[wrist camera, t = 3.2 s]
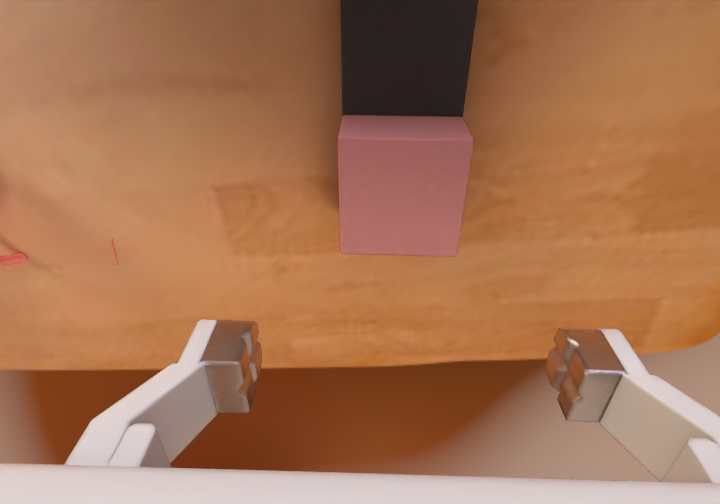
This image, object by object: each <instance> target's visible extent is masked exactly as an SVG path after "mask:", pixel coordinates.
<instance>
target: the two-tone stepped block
mask: <svg viewBox="0 0 720 504" xmlns="http://www.w3.org/2000/svg"><path fill="white" fill-rule="evenodd" d="M477 4H478V0H341V55H342V115H343V117H342V121H341V125H340V130H339V134H338V178H339V221H340V253H341V254H361V255H405V256H448V257H456V256H457V252H458V246H459V239H460V233H461V226H462V219H463V213H464V206H465V199H466V193H467V186H468V180H469V173H470V166H471V160H472V153H473V146H474V139H473V137H472V135H471V133H470V131H469V129H468V127H467V125H466V123H465V121H464V119H463V110H464V103H465V95H466V87H467V80H468V72H469V65H470V57H471V50H472V42H473V34H474V27H475V19H476V12H477Z"/></svg>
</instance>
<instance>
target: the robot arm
mask: <svg viewBox="0 0 720 504" xmlns="http://www.w3.org/2000/svg"><path fill="white" fill-rule="evenodd" d="M258 333H259V330H258V325H257V323H256V322H254V321H232V320H203V319H201V320H200V321H199V322H198V323H197V324H196V327H195V329H194V331H193V333H192V335H191V337H190V339H189V341H188V343H187V345H186V347H185V349H184V351H183V353H182V355H181V357H180V360H179V362H178V364H171V365H169V366H168V367H167V368H165V369H164V370H162V371H161V372H159V373H158V374H157V375H155V376H154V377H152V378H151V379H150V380H148V381H147V382H145V383H144V384H142V385H141V386H140V387H138V388H137V389H135V390H134V391H132V392H131V393H130V394H128V395H127V396H125V397H124V398H122V399H121V400H120V401H118V402H117V403H116V404H114V405H113V406H111V407H110V408H108V409H107V410H105V411H104V412H103V413H101V414H100V415H98V416H97V417H95V418H94V419H93V420H92V421H91V422H90V423H89V425H88V427H87V428H86V430H85V432H84V433H83V435H82V437H81V438H80V440H79V441H78V443H77V445H76V446H75V448H74V449H73V451H72V453H71V455H70V456H69V458H68V459H67V461H66V463H65V464H64V465H51V464H49V465H48V464H14V463H13V464H12V463H0V504H720V416H718V415H717V414H715V413H714V412H712V411H711V410H709V409H707V408H706V407H704V406H703V405H701V404H700V403H698V402H697V401H695V400H693V399H692V398H690V397H689V396H687V395H686V394H684V393H683V392H681V391H679V390H678V389H676V388H675V387H673V386H672V385H670V384H668V383H667V382H665V381H664V380H662V379H661V378H659V377H658V376H656V375H650V374H649V373H648V371H647V370H646V368H645V367H644V365H643V364H642V362H641V361H640V360H639V358H638V356H637V355H636V353H635V352H634V350H633V349H632V347H631V346H630V344H629V343H628V342H627V340H626V339H625V337H624V336H623V334H622V333H621V331H619V330H618V329H564V328H559V329H558V331H557V332H556V334H555V336H554V341H555V343H556V347H554V348H553V349H552V350H550V351H549V355H548V358H547V373H548V378H549V380H550V383H551V385H552V386H553V387H554V388H555V389H556V390H558V391H559V392H560V394H559V396H558V399H557V400H558V402H559V404H560V407H561V409H562V412H563V414H564V416H565V419H566V420H567V421H582V422H600V423H599V424H600V425H601V426H602V427H603V428H604V429H605V430H606V431H607V432H608V433H609V434H610V435H611V436H613V438H614V439H615V440H616V441H618V442H619V443H620V444H621V445H622V446H623V447H624V448H625V449H626V450H627V451H628V452H629V453H630V454H631V455H632V456H633V457H634V458H635V459H636V460H637V461H638V462H639V463H641V464H642V465H643V466H644V467H645V468H646V469H647V470H648V471H649V472H650V473H651V474H652V475H653V476H654V477H655V478H656V479H657V480H658V481H659V482H656V481H655V482H654V481H620V480H586V479H550V478H514V477H477V476H442V475H407V474H371V473H337V472H300V471H266V470H263V471H262V470H230V469H228V470H227V469H195V468H171V465H170V463H171V462H172V461H173V460H174V459H175V458H176V457H177V455H179V453H180V452H181V451H182V450H183V449H184V448H185V447H186V446H187V445H188V444H189V443H190V442H191V441H192V440H193V439H194V438H195V437H196V436H197V435H198V434H199V433H200V431H202V429H203V428H204V427H205V426H206V425H207V424H208V423H209V422H210V421H211V420H212V419H213V418H214V417H215V416H216V415H217V412H249V411H250V407H251V404H252V400H253V396H254V393H255V390H254V384H253V383H254V382H255V381H256V380H257V379H258V378H259V374H260V370H261V362H262V350H261V344H260V343H259V342H258V341H257V337H258Z"/></svg>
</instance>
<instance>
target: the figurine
mask: <svg viewBox="0 0 720 504" xmlns="http://www.w3.org/2000/svg"><path fill="white" fill-rule="evenodd" d="M111 242H112V246H113V250H114V254H115V258H116V262H117V266H118V265H119V264H118V260H117V256H116V252H115V248H114V244H113V240H111ZM25 260H26V257H25V255H24V254H22V253H20V254H13V255H7V256H0V266H5V265H11V264H16V263H22V262H24V261H25Z"/></svg>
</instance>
